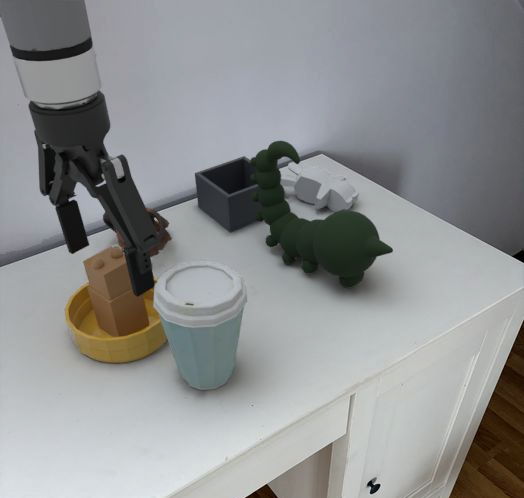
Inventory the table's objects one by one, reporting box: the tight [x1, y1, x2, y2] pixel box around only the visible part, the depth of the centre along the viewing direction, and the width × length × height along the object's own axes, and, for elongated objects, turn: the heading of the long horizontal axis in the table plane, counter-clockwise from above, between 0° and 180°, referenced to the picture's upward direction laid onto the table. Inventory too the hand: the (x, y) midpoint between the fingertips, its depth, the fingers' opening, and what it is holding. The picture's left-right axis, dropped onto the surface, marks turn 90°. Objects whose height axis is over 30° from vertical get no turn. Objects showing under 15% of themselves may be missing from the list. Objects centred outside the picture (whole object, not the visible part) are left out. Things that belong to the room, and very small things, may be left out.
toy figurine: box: [250, 140, 394, 289], centre depth 82 cm, size 9×19×25 cm
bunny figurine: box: [280, 161, 360, 213], centre depth 101 cm, size 10×5×15 cm
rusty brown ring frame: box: [102, 207, 173, 258], centre depth 91 cm, size 12×10×8 cm
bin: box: [194, 155, 262, 233], centre depth 98 cm, size 10×10×7 cm
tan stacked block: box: [82, 246, 149, 337], centre depth 74 cm, size 5×5×12 cm
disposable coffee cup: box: [153, 260, 249, 391], centre depth 67 cm, size 11×11×15 cm
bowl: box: [64, 276, 168, 364], centre depth 77 cm, size 14×14×4 cm
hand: (110, 268), depth 71 cm, fingers open, 13 cm apart
